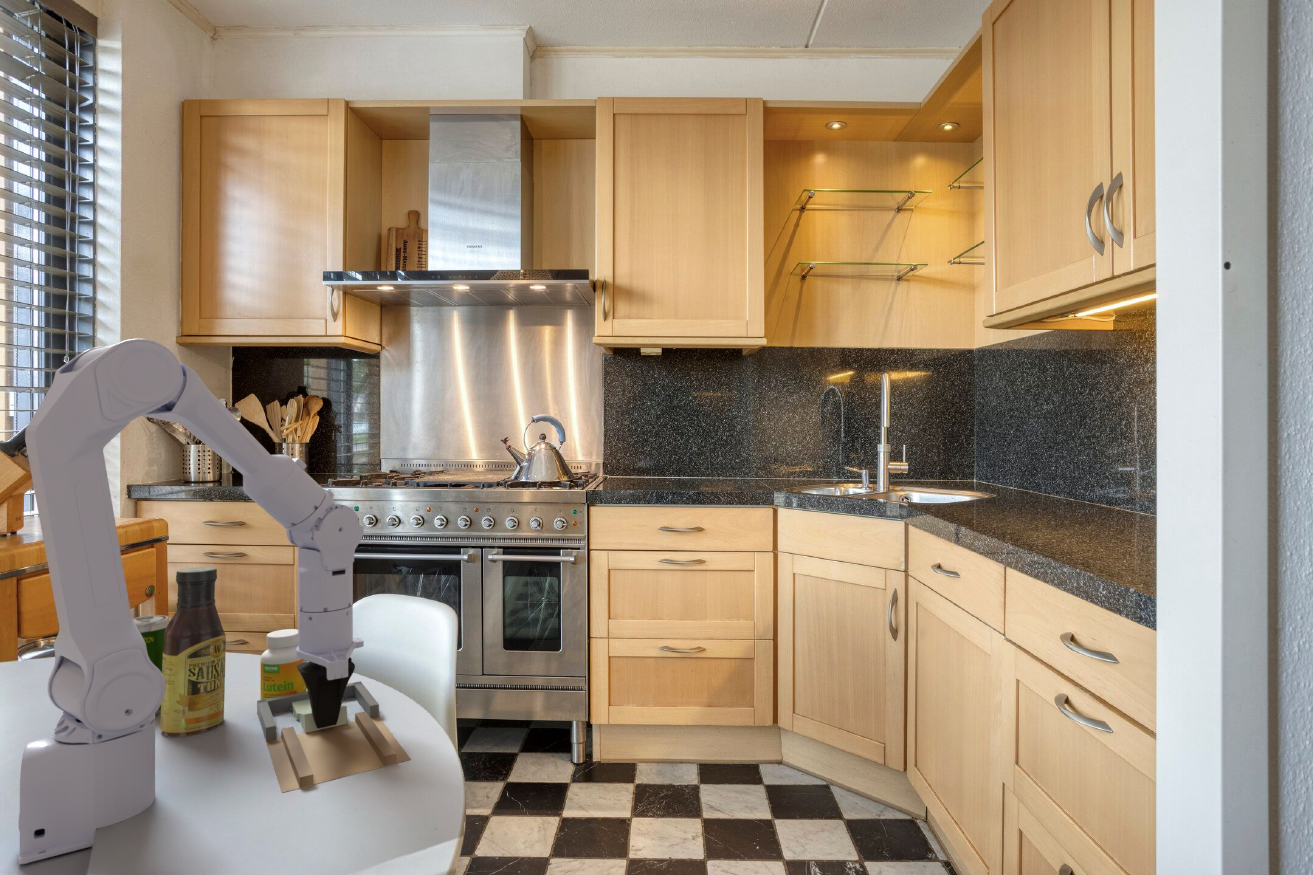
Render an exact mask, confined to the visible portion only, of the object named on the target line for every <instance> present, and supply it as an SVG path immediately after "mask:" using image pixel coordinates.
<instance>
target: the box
mask: <svg viewBox="0 0 1313 875" xmlns="http://www.w3.org/2000/svg"><path fill="white" fill-rule="evenodd" d="M350 698H354V699H355V700H356V702H357V703H358V704H359V705H360V707H361V708H362V711H363V712H364V711H366V712H367V714H368V715H369V716H370V718H375V717H380V704H379V702H378V701H377V700H376V698H375V697H374V696H373V695H372V694H371V693H370V691H369V690H368V689H367V687H366V686H365V685H364V684H363V682H362V681H361V680H360V681H355V682H350V683H349V682H348V683H347V686H346V689H345V692H344V695H343V699H342V700H345V699H350ZM307 699H309V695H308V691H306V692H301V693H295V694H290V695H285V696H279V697H274V698H269V699H264V700H260V699H258V700H257V701H256V709H257V710H256V714H257V716H258V720H259V724H260V727H261V730H262V733H263V736H264V740H265V742H266V741H269V740H274V739H277V725H276V722H275V719H274V715H273V713H279V712H284V711H285V712H286V711H289V710H290V711H291V710H292V702H296V701H301V700H307Z"/></svg>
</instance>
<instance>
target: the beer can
mask: <svg viewBox="0 0 1313 875" xmlns="http://www.w3.org/2000/svg"><path fill="white" fill-rule="evenodd" d="M132 619H133V621H134V623H135V625H136V626H137V628H138V630H139V632H140V633H141V635H142V637H143V639H144V641H145V643H146V648H147V653H148V656H149V659H150V660H151V662H152V663H153V664H154V665H155V666H156V667H157V668H158V669H159V670H160V671H161V673H162V663H163V651H164V634H165V630H166V627H167V625H168V624H169V621H170V620H169V619H170V618H169V616H168V615H162V614H160V615H159V614H154V615H144V616H137V617H132ZM157 716H161V705H160V707H159V709H158V710H157V711H156V713H155V717H157Z"/></svg>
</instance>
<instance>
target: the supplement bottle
mask: <svg viewBox="0 0 1313 875" xmlns="http://www.w3.org/2000/svg"><path fill="white" fill-rule="evenodd" d="M265 644H266V646H267V647H268V649H266V650H265V651H263V652H262V654H261V655H260V692H259V693H260V698H259V700H264V699H269V698H274V697H279V696H285V695H290V694H295V693H301V692H306V691H307V688H306V685H305V682H304V680H303V677H302V676H301V674H300V672H299V670H298V669H297V665H299V664H301V663H305V662H308V661H307V660H304V659H301V658H298V657H297V656H296V648H297V647H298V628H297V629H296V628H295V629H294V628H286V629H279V630H275V631H274V630H273V631H271V632H269V633H267V635H266V643H265Z"/></svg>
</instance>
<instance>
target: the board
mask: <svg viewBox="0 0 1313 875" xmlns="http://www.w3.org/2000/svg"><path fill="white" fill-rule="evenodd" d="M280 733H281V736H280V737H279V738H276V739H274V740H269V741H266V740H265V743H266V747H267V750H268V753H269V755H270V759H271V762H272V765H273V769H274V771H275V774H276V777H277V781H278V784H279V787H280V791H281V793H282V794H284V793H288V792H292V791H296V790H299V789H300V790H301V789H304V788H307V787H311V786H315V785H319V784H323V783H327V782H331V781H335V780H338V779H342V778H345V777H351V776H353V775H357V774H361V773H365V772H366V773H367V772H370V771H373V770H378V769H381V768H384V767H389V766H392V765H396V764H401V763H404V762H408V761H412V758H411V757H410V756H409V754H408V753H407V752H406V751H405V749H404V748H403V747H402V745H401V744H400V742H399V741H398V740H397V739H396V737H395V736H394V735H393V733H392V732H391V731H390V730H389V728H388V726H386V724H385V723H384V721H383V720H382V719H381V717H380V716H379V717H375V718H370V716H369V715H368V714H367V712H366V711H364V710H363V711H360V712H355V713H354V721H353V722H348V724H344V725H339V726H335V727H330V728H326V729H321V730H316V731H312V732H307V733H305V732H302V733H297V732H296V730H295V728H294V726H288V727H285V728H281V729H280Z"/></svg>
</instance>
